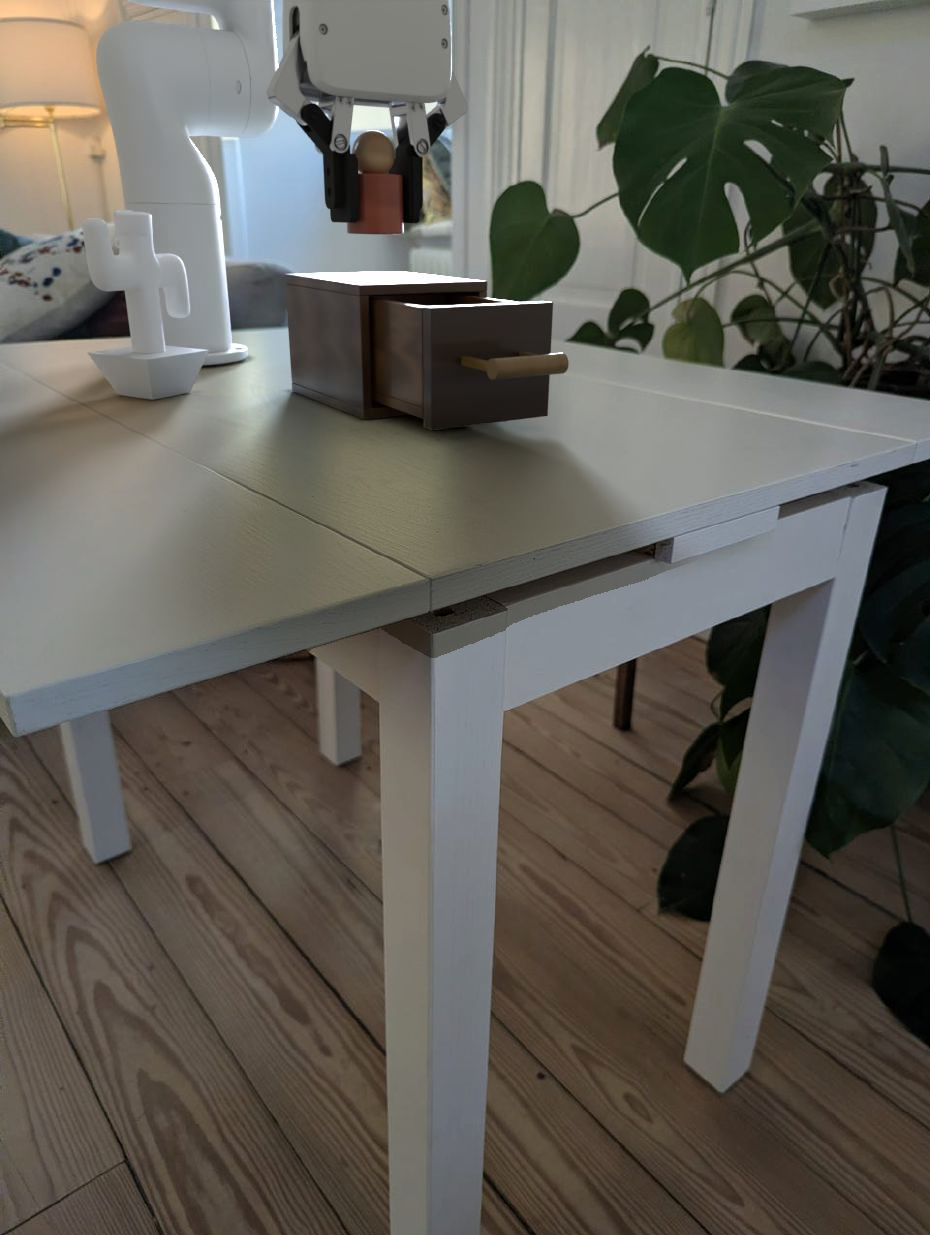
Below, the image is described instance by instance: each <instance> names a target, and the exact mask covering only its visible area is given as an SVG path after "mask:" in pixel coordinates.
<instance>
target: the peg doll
mask: <svg viewBox="0 0 930 1235" xmlns="http://www.w3.org/2000/svg"><path fill="white" fill-rule="evenodd" d="M351 149H352V150H351V154H356V157H357V158H358V176H359V208H360V218H359V220H358V221H357V222H356V223H346V232H347V234H349V235H404V233H405V232H404V223H403V176H402V175H397V174H389V171H390V169H391V168H392V166H393V164H394V159H395V158H396V157H395V146H394V145H393V142H392V140H391V139H390V137H388V135H386V134H385V133H384V132H381V131H379V130H375V129H370V130H365V131H363V132H361V134H359V135H357V138H356V139H354V143H353V145H352V148H351Z"/></svg>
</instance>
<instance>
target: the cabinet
mask: <svg viewBox="0 0 930 1235" xmlns="http://www.w3.org/2000/svg"><path fill="white" fill-rule="evenodd" d="M284 283H285V299H286V300H285V301H286V313H287V314H286V316H287V328H288V330H287V331H288V345H289V346H288V347H289V360H290V377H291V391H292V392H293V393H295V394H298V395H301V396H303V397H306V398H308V399H311V400H313V401H316V402H319V403H321V404H324V405H326V406H328V407H331V408H334V409H336V410H339V411H341V412H344V413H346V414H349V415H351V416H353V417H356V418H359V419H361V420H363V421H364V420H365V421H366V420H373V419H382V418H390V417H391V418H392V417H400V416H409V415H411V414H408V413H405V412H402V411H400V410H397V409H394V408H391V407H388V406H386V405H383V404H380V403H377V402H374V401H372V390H371V356H370V322H369V296H373V295H400V294H428V293H456V294H464V295H471V296H478V297H486V298H488V281H487V280H481V279H472V278H471V279H470V278H463V277H456V276H455V277H454V276H447V275H437V274H428V273H418V272H410V271H401V270H399V271H397V270H396V271H357V272H356V271H355V272H353V271H351V272H350V271H349V272H309V273H306V272H305V273H284Z"/></svg>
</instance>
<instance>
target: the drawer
mask: <svg viewBox="0 0 930 1235" xmlns="http://www.w3.org/2000/svg"><path fill="white" fill-rule="evenodd" d="M553 315H554V302H553V301H544V300H539V301H538V300H537V301H514V300H508V299H499V298H491V297H487V298H486V297H478V296H471V295H464V294H456V293H428V294H400V295H373V296H369V322H370V356H371V390H372V401H374V402H377V403H380V404H383V405H386V406H388V407H391V408H394V409H397V410H400V411H402V412H405V413H408V414H410V415H411V416H414V417H417V418H419V419H423V428H424V429H425V428H426V429H428V430H430V431H436V430H444V429H452V428H453V429H454V428H461V427H469V426H478V425H486V424H493V423H503V422H510V421H517V420H519V421H520V420H525V419H526V420H528V419H534V418H542V417H543V418H544V417H548V415H549V400H550V398H549V397H550V396H549V395H550V378H551V377H550V375H552V376H553V375H561V374H565V373H566V372H567V371H568V369H569V367H570V366H569V363H570V362H569V358H568V356H567V354H565V353H564V352H556V353H555V352H554V353H552V339H553V338H552V337H553Z"/></svg>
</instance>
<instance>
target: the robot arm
mask: <svg viewBox="0 0 930 1235" xmlns="http://www.w3.org/2000/svg"><path fill="white" fill-rule="evenodd" d="M126 1H127V2H129V3H133V4H136V5H141V6H145V7H152V8H156V9H157V8H158V9H165V10H173V11H179V12H189V13H196V14H204V15H210V16H212V17H214V19H215V21H216V23H217V25H218V29H215V28H208V27H201V26H200V27H199V26H193V25H190V24H183V23H175V22H167V21H166V22H165V21H157V20H144V19H133V20H125V21H121V22H120V21H119V22H117V23H114V24H113V25H110V26H109V27H108V28H107V29H106V30H104V32H103V33H102V34H101V36H100V37H99V40H98V42H97V46H96V52H95V53H96V54H95V63H96V71H97V77H98V82H99V86H100V89H101V94H102V97H103V102H104V104H105V108H106V111H107V115H108V120H109V123H110V127H111V130H112V135H113V139H114V140H113V141H114V145H115V150H116V156H117V162H118V168H119V174H120V180H121V188H122V196H123V203H124V204H123V205H124V210H132V211H133V212H145V213H149V214H151V215H152V231H153V234H152V237H153V247H154V253H155V254H167V253H169V254H174V255H176V256H178V257H179V258H180V259H181V260H182V262H183V264H184V267H185V271H186V276H187V285H188V294H189V304H190V314H189V315H188V316H187V317H185V318H174V317H171V316H170V315H169V314H168V312H167V308H166V300H165V295H164V291H163V288H159V299H160V307H161V316H162V324H163V333H164V341H165V345H166V346H175V347H184V348H194V349H203V350H209V352H208V354H207V356H206V358H205V361H204V363H203V365H202V367H204V366H213V365H215V366H216V365H223V364H224V365H225V364H232V363H236V362H240V361H244V360H245V359H247V358H248V356H249V355H248V354H249V353H248V347H247V346H246V345H244V344H240V343H236V342H233V337H232V336H233V335H232V325H231V313H230V303H229V290H228V280H227V270H226V269H227V268H226V259H225V258H226V257H225V256H226V255H225V246H224V234H223V224H222V212H221V211H222V210H221V200H220V192H219V186H218V183H217V179H216V177H215V174H214V172H213V171H212V168H211V166H210V165H209V164H208V162H207V161H206V159H205V158H204V157H203V155H202V154H201V152H200V151H199V149H198V148H197V147H196V145H195V143H194V142H193V141H192V140H191V138H190V137H199V136H201V137H202V136H203V137H218V138H219V137H220V138H238V139H239V138H240V139H254V138H259V137H263V136H265V135H266V134H268V133H270V131H271V130H272V129H273V127H274V125H275V123H276V120H277V118H278V114H279V109H280V110H281V111H282V112H283V113H285V114H286V115H287V116H288V117H290V118H291V119H293V120H294V121H295V123H296V124H297V125H298V126H299V127H300V128H301V129H302V131H303V132H304V134H305V135H306V136H307V137H308V138H309V139H310V140H311V142H312V143H313V144H314V148H315V151H316V152H317V153H318V154H319V155H321V156H322V167H323V186H324V187H323V189H324V191H323V192H324V203H325V206H326V208H327V209H328V210H329V213H330V214H329V215H330V216H329V218H330V221H331V222H332V223H342V224H343V223H346V224H347V223H356V222H357V221H358V220H359V218H360V208H359V176H358V174H359V170H358V158H357V157H356V154H352V153H351V144H350V143H351V142H350V141H351V132H352V126H353V113H354V106H359V107H373V108H383V109H384V108H385V109H386V108H387V109H388V111H389V117H390V118H389V119H390V123H391V129H392V130H391V131H392V136H393V143H394V151H395V159H394V164H393V166H392V168H391V169H390V171H389V172H388V174H397V175H402V176H403V224H419V223H420V219H421V215H420V214H421V210H422V208H423V204H424V164H423V163H424V159H423V158H426V157H428V155H430V152H431V150H432V149H431V148H432V146H434V144H435V142H436V141H437V140H438V139H439V137H440V136H441V135H442V134H443V133H444V131H445V130H446V128H448V127H450V126H451V125H452V124H454V123H455V122H456V121H458V120H459V119H460V118H462V117H463V116H464V115H465V114H466V113H467V112H468V111H467V110H468V102H467V100H466V98H465V96H464V93H463V91H462V89H461V87H460V85H459V81H458V80H457V77H456V75H455V73H454V71H453V68H452V66H453V65H452V63H453V62H452V60H453V56H452V54H453V53H452V49H453V48H452V46H453V44H452V22H451V3H450V0H282V57H281V59H280V61H279V63H278V48H277V40H276V39H277V36H276V35H277V34H276V25H275V24H276V22H275V10H274V0H126ZM316 103H318V104H316ZM433 103H436V105H435V107H433V108H432V109H431V110H430V111H428V113H427V112H426V111H427V110H426V104H433Z"/></svg>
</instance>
